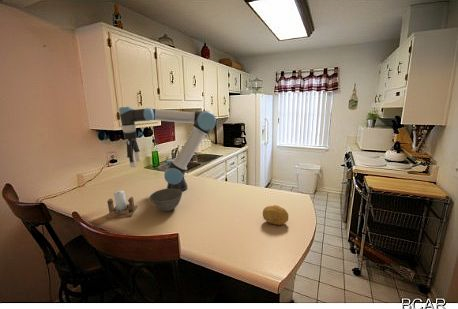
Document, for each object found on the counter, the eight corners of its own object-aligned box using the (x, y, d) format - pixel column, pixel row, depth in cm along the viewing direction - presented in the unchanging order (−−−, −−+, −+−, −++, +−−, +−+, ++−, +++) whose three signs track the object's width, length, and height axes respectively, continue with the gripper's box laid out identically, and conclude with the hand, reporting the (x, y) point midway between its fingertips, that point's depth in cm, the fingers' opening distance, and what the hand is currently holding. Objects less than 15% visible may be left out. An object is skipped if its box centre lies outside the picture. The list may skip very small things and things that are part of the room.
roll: (128, 208, 133) (125, 190, 130) (125, 213, 128) (122, 193, 125) (119, 209, 133) (116, 190, 130) (115, 213, 127) (112, 194, 124)
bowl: (150, 206, 137) (148, 191, 135) (180, 200, 144) (179, 186, 142) (153, 220, 120) (150, 204, 118) (186, 212, 127) (185, 197, 125)
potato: (286, 213, 104) (289, 203, 112) (259, 210, 110) (264, 200, 118) (287, 230, 107) (290, 219, 115) (261, 226, 112) (265, 215, 120)
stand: (137, 207, 137) (135, 193, 135) (131, 216, 125) (129, 202, 123) (114, 209, 136) (112, 195, 134) (106, 218, 124) (103, 204, 122)
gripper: (128, 130, 147) (134, 160, 152) (117, 135, 123) (124, 170, 128) (140, 129, 148) (145, 158, 154) (130, 133, 125) (137, 169, 130)
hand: (135, 164), depth 141 cm, fingers open, 13 cm apart
